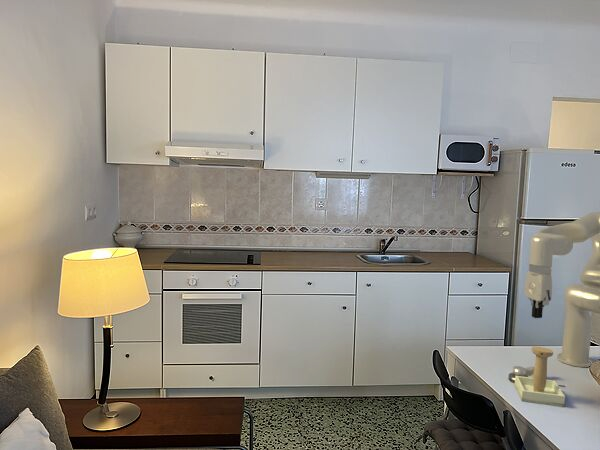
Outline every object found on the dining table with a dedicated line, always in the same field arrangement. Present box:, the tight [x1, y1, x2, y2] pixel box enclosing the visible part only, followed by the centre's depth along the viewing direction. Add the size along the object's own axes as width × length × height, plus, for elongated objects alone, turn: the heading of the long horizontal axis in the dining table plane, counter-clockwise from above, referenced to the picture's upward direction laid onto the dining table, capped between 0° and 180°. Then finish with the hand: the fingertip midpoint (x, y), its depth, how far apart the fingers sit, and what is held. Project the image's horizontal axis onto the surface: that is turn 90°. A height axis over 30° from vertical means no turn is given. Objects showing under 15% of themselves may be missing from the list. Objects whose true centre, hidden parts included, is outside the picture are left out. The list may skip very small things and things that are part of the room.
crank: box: [512, 365, 535, 377], centre depth 174 cm, size 14×4×5 cm, turn 111°
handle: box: [531, 346, 554, 393], centre depth 160 cm, size 5×6×15 cm
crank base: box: [507, 372, 566, 388], centre depth 171 cm, size 7×19×2 cm, turn 76°
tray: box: [514, 376, 566, 408], centre depth 161 cm, size 13×13×4 cm
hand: (536, 317), depth 178 cm, fingers closed
